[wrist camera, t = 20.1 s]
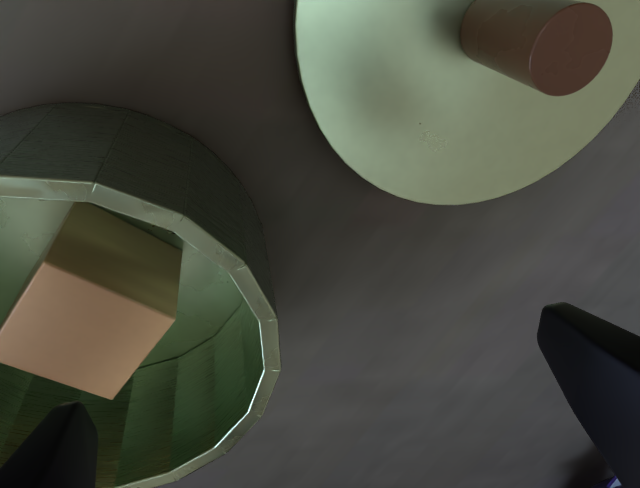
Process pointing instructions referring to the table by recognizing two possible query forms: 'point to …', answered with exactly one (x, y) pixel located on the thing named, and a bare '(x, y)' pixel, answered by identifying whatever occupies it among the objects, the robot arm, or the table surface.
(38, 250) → the pot
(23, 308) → the cube
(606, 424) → the robot arm
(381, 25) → the lid
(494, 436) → the table surface
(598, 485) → the toy airplane
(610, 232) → the table surface
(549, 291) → the table surface
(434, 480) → the table surface
